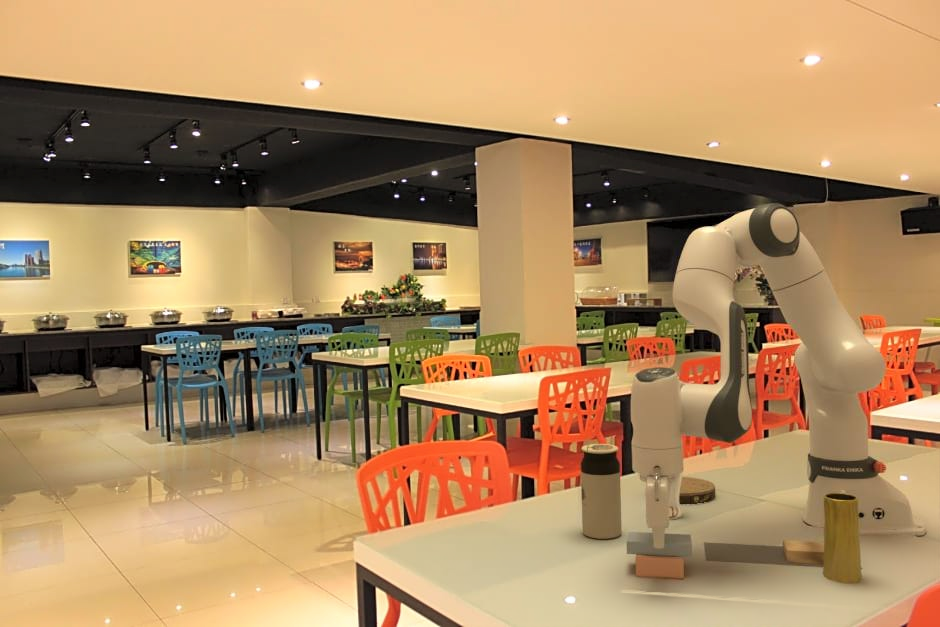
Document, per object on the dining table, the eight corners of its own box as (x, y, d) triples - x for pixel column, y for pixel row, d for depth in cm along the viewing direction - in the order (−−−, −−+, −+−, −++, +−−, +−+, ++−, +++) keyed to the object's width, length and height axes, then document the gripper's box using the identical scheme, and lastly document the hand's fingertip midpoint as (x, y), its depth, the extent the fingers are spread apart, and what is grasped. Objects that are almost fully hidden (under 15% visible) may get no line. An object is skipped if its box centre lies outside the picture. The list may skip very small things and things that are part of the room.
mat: (849, 553, 142) (849, 549, 142) (862, 572, 133) (862, 569, 133) (703, 545, 149) (703, 542, 149) (706, 563, 139) (705, 560, 139)
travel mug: (624, 529, 160) (621, 444, 160) (618, 541, 153) (616, 452, 152) (586, 526, 163) (584, 442, 162) (579, 538, 155) (576, 450, 155)
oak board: (847, 555, 139) (847, 543, 139) (854, 566, 134) (854, 553, 134) (783, 552, 142) (782, 540, 142) (787, 562, 137) (787, 550, 137)
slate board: (691, 546, 137) (690, 534, 137) (691, 557, 131) (691, 544, 131) (628, 543, 140) (628, 531, 139) (626, 553, 134) (626, 541, 134)
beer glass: (684, 520, 165) (683, 451, 165) (651, 519, 166) (650, 451, 166) (682, 511, 172) (681, 445, 171) (650, 510, 173) (649, 444, 173)
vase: (815, 574, 133) (813, 492, 132) (849, 572, 133) (847, 490, 133) (835, 587, 126) (833, 502, 126) (870, 585, 127) (869, 500, 127)
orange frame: (683, 566, 138) (682, 544, 138) (684, 582, 131) (683, 559, 131) (638, 563, 140) (637, 541, 140) (636, 579, 133) (635, 556, 133)
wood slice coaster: (714, 489, 190) (713, 477, 190) (716, 507, 175) (716, 494, 175) (648, 487, 195) (648, 475, 194) (645, 504, 179) (645, 491, 179)
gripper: (676, 475, 124) (678, 559, 125) (675, 449, 144) (677, 521, 144) (636, 474, 126) (638, 557, 126) (641, 448, 146) (643, 520, 146)
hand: (659, 538), depth 135 cm, fingers open, 8 cm apart
